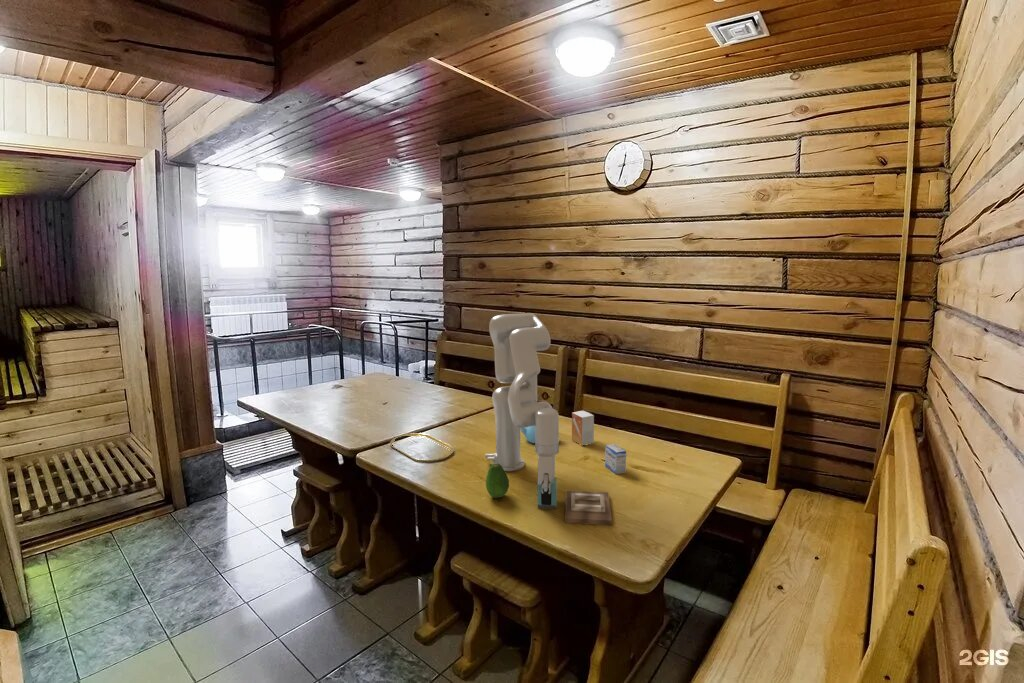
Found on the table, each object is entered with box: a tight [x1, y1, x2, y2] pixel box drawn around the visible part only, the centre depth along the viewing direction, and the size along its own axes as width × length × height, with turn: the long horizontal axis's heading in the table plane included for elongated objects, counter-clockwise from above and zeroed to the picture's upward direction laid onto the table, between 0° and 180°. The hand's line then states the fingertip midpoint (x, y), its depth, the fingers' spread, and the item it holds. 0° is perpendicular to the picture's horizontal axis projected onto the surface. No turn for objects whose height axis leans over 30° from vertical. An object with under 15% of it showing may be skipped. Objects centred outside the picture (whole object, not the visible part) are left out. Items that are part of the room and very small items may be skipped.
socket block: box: [564, 490, 613, 526], centre depth 154 cm, size 14×18×3 cm
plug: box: [536, 476, 558, 510], centre depth 157 cm, size 6×4×9 cm, turn 82°
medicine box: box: [604, 443, 627, 475], centre depth 183 cm, size 8×4×9 cm, turn 21°
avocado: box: [485, 463, 510, 499], centre depth 163 cm, size 8×8×12 cm
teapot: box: [520, 426, 535, 444], centre depth 214 cm, size 15×15×10 cm
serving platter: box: [389, 432, 455, 463], centre depth 208 cm, size 19×35×2 cm, turn 41°
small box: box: [571, 410, 595, 446], centre depth 210 cm, size 8×6×13 cm
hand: (547, 497), depth 157 cm, fingers open, 9 cm apart
